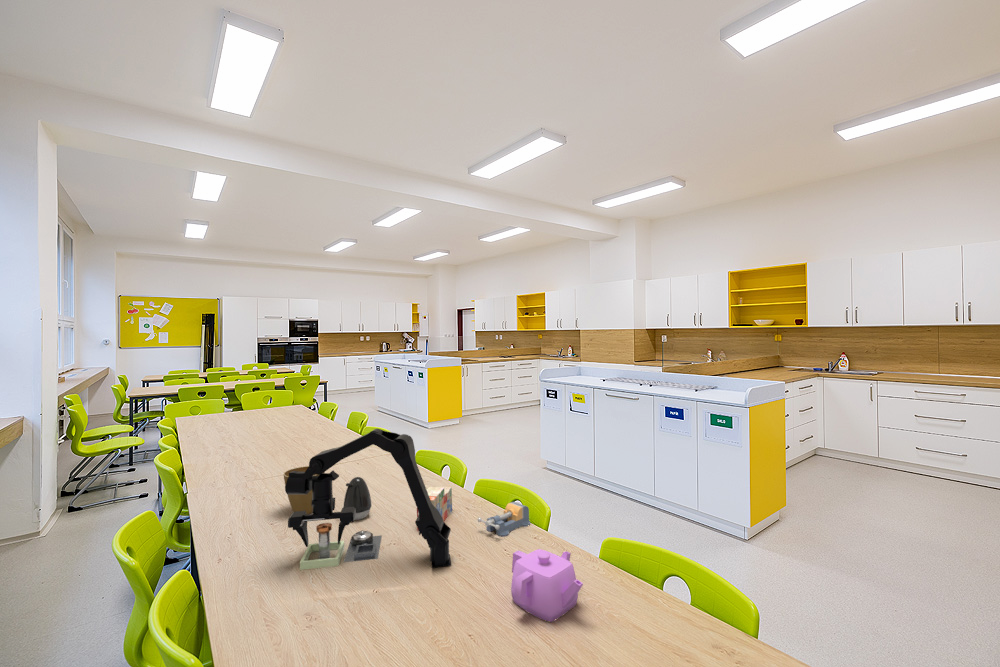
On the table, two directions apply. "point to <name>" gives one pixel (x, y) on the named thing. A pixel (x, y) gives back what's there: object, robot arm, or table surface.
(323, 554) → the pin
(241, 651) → the table surface
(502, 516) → the vise
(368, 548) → the tensioner
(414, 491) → the robot arm
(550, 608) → the teakettle
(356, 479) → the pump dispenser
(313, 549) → the tray
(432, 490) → the stack of blocks
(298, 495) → the plant pot
